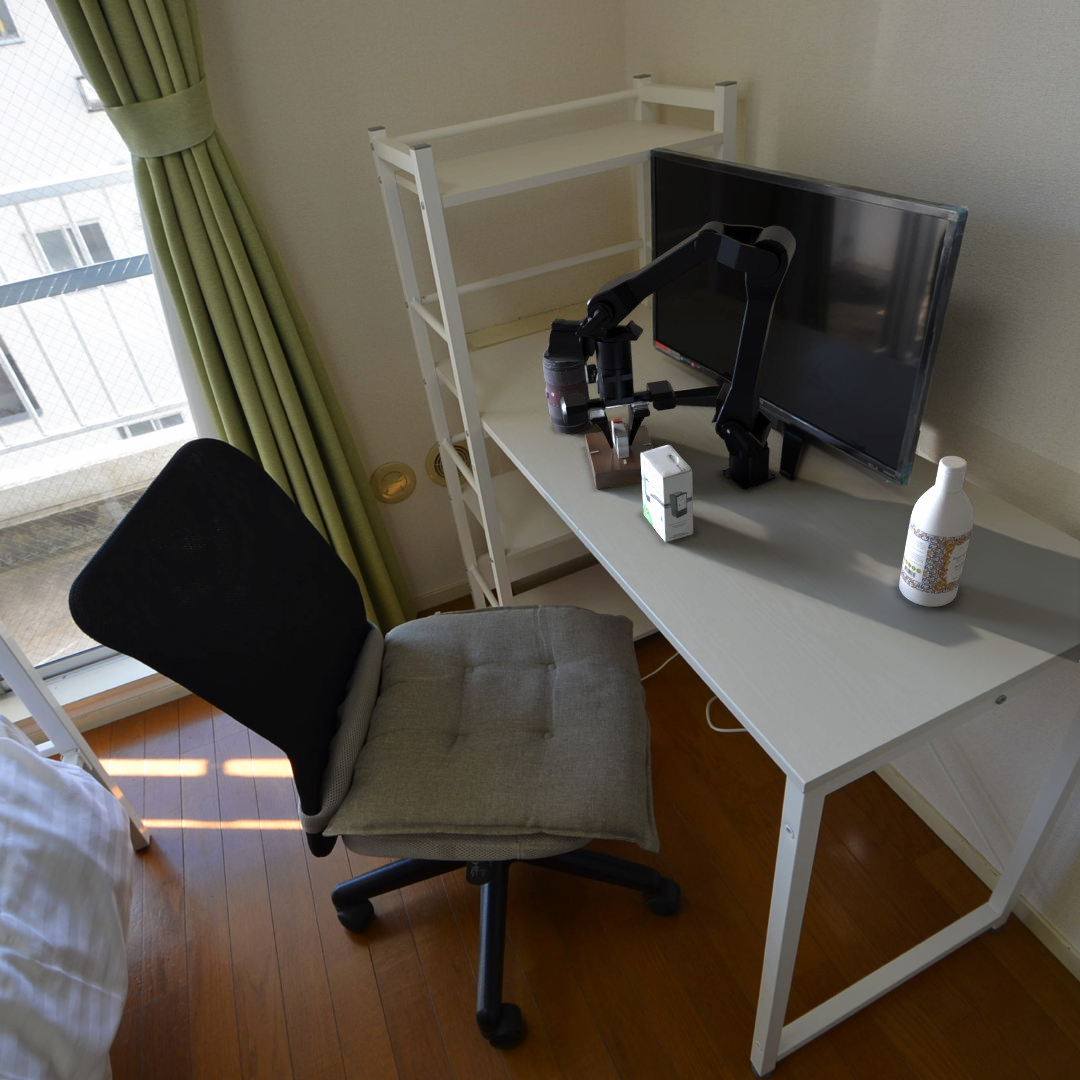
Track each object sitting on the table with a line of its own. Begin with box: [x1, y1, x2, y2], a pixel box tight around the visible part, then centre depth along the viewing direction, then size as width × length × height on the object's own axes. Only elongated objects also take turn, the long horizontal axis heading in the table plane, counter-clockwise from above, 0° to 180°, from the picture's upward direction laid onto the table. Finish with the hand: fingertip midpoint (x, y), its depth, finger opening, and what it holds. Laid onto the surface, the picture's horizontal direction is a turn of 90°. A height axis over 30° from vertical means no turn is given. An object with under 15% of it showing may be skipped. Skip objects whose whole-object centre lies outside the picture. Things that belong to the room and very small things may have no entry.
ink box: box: [641, 444, 694, 543], centre depth 122 cm, size 9×5×12 cm, turn 18°
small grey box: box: [610, 417, 629, 458], centre depth 138 cm, size 6×2×4 cm, turn 4°
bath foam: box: [898, 455, 975, 608], centre depth 100 cm, size 7×7×20 cm
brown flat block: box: [584, 424, 654, 490], centre depth 140 cm, size 14×11×3 cm
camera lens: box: [542, 348, 591, 434], centre depth 150 cm, size 8×8×15 cm
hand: (620, 446), depth 139 cm, fingers open, 3 cm apart
